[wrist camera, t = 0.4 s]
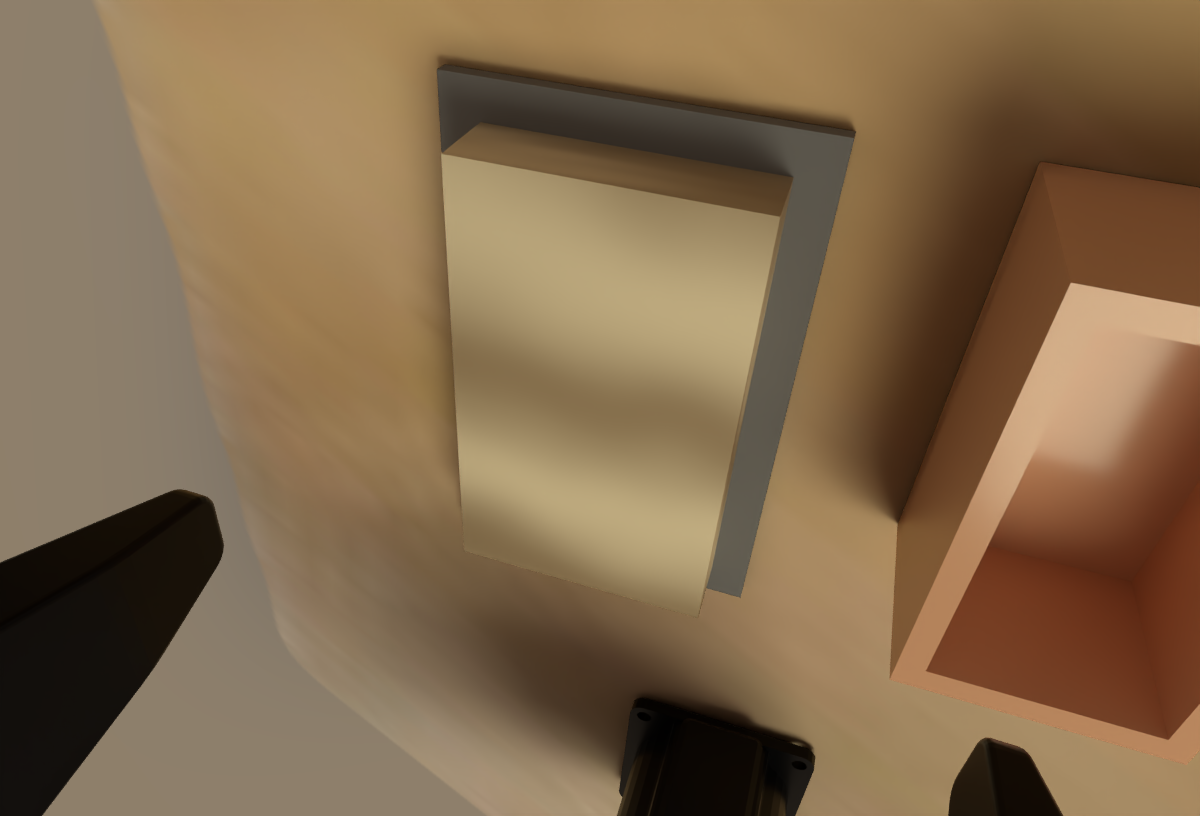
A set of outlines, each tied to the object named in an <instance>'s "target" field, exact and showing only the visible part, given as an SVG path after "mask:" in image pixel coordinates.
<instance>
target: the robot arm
mask: <svg viewBox="0 0 1200 816" xmlns="http://www.w3.org/2000/svg"><path fill="white" fill-rule="evenodd" d="M223 548H224V543H223V538H222V534H221V531H220V527H219V523H218V519H217V515H216V511H215V507H214V504H213V502H212V501H211V500H210V499H209V498H208V497H206V496H203V495H200V494H197V493H194V492H190V491H187V490H181V489H179V490H173V491H170V492H168V493H165V494H163V495H160V496H158V497H155V498H153V499H151V500H148V501H146V502H143V503H141V504H139V505H136V506H134V507H132V508H129V509H127V510H124V511H122V512H120V513H117V514H115V515H112V516H110V517H108V518H105V519H103V520H101V521H98V522H96V523H93V524H91V525H89V526H86V527H84V528H81V529H79V530H77V531H74V532H72V533H69V534H67V535H65V536H62V537H60V538H58V539H55V540H53V541H51V542H48V543H46V544H43V545H41V546H38V547H36V548H34V549H31V550H29V551H26V552H24V553H22V554H19V555H17V556H15V557H12V558H10V559H7V560H5V561H3V562H1V563H0V816H42V815H43V814H44V813H45V811H46V810H47V809H48V807H49V806H50V805H51V803H52V802H53V801H54V799H55V798H56V797H57V795H58V794H59V793H60V792H61V790H62V789H63V788H64V786H65V785H66V784H67V782H68V781H69V780H70V778H71V777H72V776H73V774H74V773H75V772H76V771H77V769H78V768H79V767H80V765H81V764H82V763H83V761H84V760H85V759H86V757H87V756H88V755H89V754H90V752H91V751H92V750H93V748H94V747H95V746H96V744H97V742H99V740H100V739H101V738H102V736H103V735H104V734H105V732H106V731H107V730H108V729H109V727H110V726H111V725H112V723H113V722H114V721H115V719H116V718H117V717H118V715H119V714H120V713H121V712H122V710H123V709H124V708H125V706H126V705H127V704H128V702H129V701H130V700H131V698H132V697H133V696H134V694H135V693H136V692H137V691H138V689H139V688H140V687H141V685H142V684H143V682H144V681H145V679H146V678H147V677H148V676H149V674H150V673H151V671H152V670H153V668H154V667H155V666H156V664H157V663H158V661H159V659H160V658H161V657H162V655H163V653H164V652H165V650H166V648H167V647H168V645H169V644H170V642H171V641H172V639H173V637H174V636H175V634H176V632H177V631H178V629H179V628H180V626H181V624H182V623H183V621H184V620H185V618H186V616H187V615H188V613H189V611H190V610H191V608H192V607H193V605H194V603H195V602H196V600H197V598H198V597H199V595H200V594H201V592H202V590H203V589H204V587H205V585H206V584H207V582H208V581H209V579H210V577H211V576H212V574H213V572H214V571H215V569H216V567H217V566H218V564H219V562H220V560H221V557H222V554H223ZM814 765H815V755H814V754H813V752H811V751H810V750H809V749H806V748H804V747H801V746H798V745H795V744H792V743H788V742H785V741H782V740H779V739H775V738H772V737H769V736H766V735H762V734H759V733H756V732H753V731H749V730H746V729H743V728H740V727H737V726H733V725H730V724H727V723H724V722H720V721H717V720H714V719H711V718H707V717H704V716H701V715H698V714H695V713H691V712H688V711H685V710H682V709H678V708H675V707H672V706H669V705H665V704H662V703H659V702H656V701H653V700H649V699H645V698H639V699H636V700H635V701H634V703H633V706H632V709H631V712H630V719H629V726H628V733H627V740H626V747H625V754H624V761H623V768H622V775H621V781H620V788H619V793H620V795H621V796H622V801H621V804H620V807H619V811H618V814H617V816H795V815H796V812H797V810H798V807H799V805H800V803H801V800H802V798H803V795H804V793H805V790H806V788H807V785H808V783H809V781H810V778H811V776H812V773H813V771H814ZM948 816H1063V814H1062V813H1061V811H1060V809H1059V807H1058V805H1057V804H1056V802H1055V800H1054V798H1053V796H1052V794H1051V793H1050V791H1049V789H1048V787H1047V785H1046V783H1045V782H1044V780H1043V778H1042V776H1041V774H1040V772H1039V771H1038V769H1037V767H1036V765H1035V763H1034V762H1033V760H1032V758H1031V756H1030V755H1029V754H1028V753H1027V752H1026V751H1025V750H1024V749H1022V748H1020V747H1018V746H1015V745H1011V744H1008V743H1005V742H1002V741H998V740H995V739H992V738H983V739H982V740H980V741H979V742H978V743H977V745H976V746H975V748H974V750H973V751H972V753H971V755H970V756H969V758H968V759H967V761H966V763H965V764H964V766H963V767H962V769H961V771H960V772H959V774H958V776H957V777H956V779H955V781H954V784H953V787H952V791H951V796H950V803H949V814H948Z"/></svg>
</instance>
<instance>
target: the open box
mask: <svg viewBox="0 0 1200 816" xmlns="http://www.w3.org/2000/svg"><path fill="white" fill-rule="evenodd" d="M890 680H893V681H897V682H900V683H904V684H907V685H911V686H914V687H918V688H921V689H925V690H928V691H931V692H935V693H938V694H942V695H945V696H949V697H952V698H956V699H959V700H963V701H966V702H970V703H973V704H977V705H980V706H984V707H987V708H991V709H994V710H997V711H1001V712H1004V713H1008V714H1011V715H1015V716H1018V717H1022V718H1025V719H1029V720H1032V721H1036V722H1039V723H1043V724H1046V725H1050V726H1053V727H1057V728H1060V729H1063V730H1067V731H1070V732H1074V733H1077V734H1081V735H1084V736H1088V737H1091V738H1095V739H1098V740H1102V741H1105V742H1109V743H1112V744H1116V745H1119V746H1123V747H1126V748H1129V749H1133V750H1136V751H1140V752H1143V753H1147V754H1150V755H1154V756H1157V757H1161V758H1164V759H1168V760H1171V761H1175V762H1178V763H1182V764H1185V765H1187V764H1188V763H1189V761H1190V760H1191V759H1192V758H1193V757H1194V756H1195V755H1196V754H1197V753H1198V752H1199V751H1200V188H1199V187H1193V186H1187V185H1181V184H1175V183H1169V182H1162V181H1156V180H1150V179H1144V178H1138V177H1132V176H1126V175H1120V174H1113V173H1107V172H1101V171H1095V170H1089V169H1083V168H1077V167H1071V166H1064V165H1058V164H1052V163H1046V162H1040V163H1039V166H1038V168H1037V171H1036V173H1035V176H1034V178H1033V181H1032V183H1031V186H1030V189H1029V191H1028V194H1027V196H1026V199H1025V201H1024V204H1023V206H1022V209H1021V211H1020V214H1019V217H1018V219H1017V222H1016V224H1015V227H1014V229H1013V232H1012V234H1011V237H1010V240H1009V242H1008V245H1007V247H1006V250H1005V252H1004V255H1003V257H1002V260H1001V262H1000V265H999V268H998V270H997V273H996V275H995V278H994V280H993V283H992V285H991V288H990V291H989V293H988V296H987V298H986V301H985V303H984V306H983V308H982V311H981V313H980V316H979V319H978V321H977V324H976V326H975V329H974V331H973V334H972V336H971V339H970V342H969V344H968V347H967V349H966V352H965V354H964V357H963V359H962V362H961V364H960V367H959V370H958V372H957V375H956V377H955V380H954V382H953V385H952V387H951V390H950V393H949V395H948V398H947V400H946V403H945V405H944V408H943V410H942V413H941V415H940V418H939V421H938V423H937V426H936V428H935V431H934V433H933V436H932V438H931V441H930V444H929V446H928V449H927V451H926V454H925V456H924V459H923V461H922V464H921V466H920V469H919V472H918V474H917V477H916V479H915V482H914V484H913V487H912V489H911V492H910V495H909V497H908V500H907V502H906V505H905V507H904V510H903V512H902V515H901V518H900V520H899V523H898V527H897V546H896V566H895V585H894V604H893V623H892V643H891V662H890Z"/></svg>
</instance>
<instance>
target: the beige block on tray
mask: <svg viewBox="0 0 1200 816" xmlns="http://www.w3.org/2000/svg"><path fill="white" fill-rule="evenodd" d="M441 162H442V179H443V197H444V214H445V231H446V248H447V266H448V283H449V300H450V318H451V335H452V352H453V370H454V387H455V404H456V422H457V439H458V456H459V473H460V491H461V508H462V525H463V543H464V551H465V552H468V553H472V554H475V555H479V556H482V557H486V558H489V559H493V560H496V561H500V562H503V563H507V564H510V565H514V566H517V567H521V568H524V569H528V570H531V571H535V572H538V573H542V574H545V575H549V576H552V577H556V578H559V579H563V580H566V581H570V582H573V583H577V584H580V585H584V586H587V587H591V588H594V589H597V590H601V591H604V592H608V593H611V594H615V595H618V596H622V597H625V598H629V599H632V600H636V601H639V602H643V603H646V604H650V605H653V606H657V607H660V608H664V609H667V610H671V611H674V612H678V613H681V614H685V615H688V616H692V617H695V618H698V616H699V612H700V609H701V605H702V601H703V598H704V594H705V591H706V587H707V583H708V580H709V576H710V573H711V569H712V565H713V560H714V556H715V551H716V546H717V541H718V537H719V532H720V527H721V522H722V517H723V513H724V508H725V503H726V498H727V494H728V489H729V484H730V479H731V475H732V470H733V465H734V460H735V455H736V451H737V446H738V441H739V436H740V432H741V427H742V422H743V417H744V412H745V408H746V403H747V398H748V393H749V389H750V384H751V379H752V374H753V369H754V365H755V360H756V355H757V350H758V346H759V341H760V336H761V331H762V327H763V322H764V317H765V312H766V307H767V303H768V298H769V293H770V288H771V284H772V279H773V274H774V269H775V264H776V260H777V255H778V250H779V245H780V241H781V236H782V231H783V226H784V221H785V217H786V212H787V207H788V202H789V198H790V193H791V188H792V183H793V178H794V177H788V176H783V175H777V174H771V173H766V172H760V171H754V170H749V169H743V168H737V167H732V166H726V165H720V164H715V163H709V162H703V161H698V160H692V159H686V158H681V157H675V156H669V155H664V154H658V153H652V152H647V151H641V150H635V149H630V148H624V147H618V146H613V145H607V144H601V143H596V142H590V141H584V140H579V139H573V138H567V137H562V136H556V135H550V134H545V133H539V132H533V131H528V130H522V129H516V128H511V127H505V126H499V125H494V124H488V123H482V122H480V123H479V124H478V125H476V126H475V127H474V128H473V129H471V130H470V131H469V132H468V133H466V134H465V135H464V136H463V137H461V138H460V139H459V140H458V141H456V142H455V143H454V144H453V145H451V146H450V147H449V148H448V149H446V150H445V151H444V152H443V153H441Z"/></svg>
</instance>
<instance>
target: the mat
mask: <svg viewBox="0 0 1200 816" xmlns="http://www.w3.org/2000/svg"><path fill="white" fill-rule="evenodd" d="M437 80H438V97H439V115H440V132H441V150H442V153H443V152H444V151H445V150H446V149H448V148H449V147H450V146H451V145H453V144H454V143H455V142H456V141H458V140H459V139H460V138H461V137H463V136H464V135H465V134H466V133H468V132H469V131H470V130H471V129H473V128H474V127H475V126H476V125H478V124H479V123H480V122H482V123H488V124H494V125H499V126H505V127H511V128H516V129H522V130H528V131H533V132H539V133H545V134H550V135H556V136H562V137H567V138H573V139H579V140H584V141H590V142H596V143H601V144H607V145H613V146H618V147H624V148H630V149H635V150H641V151H647V152H652V153H658V154H664V155H669V156H675V157H681V158H686V159H692V160H698V161H703V162H709V163H715V164H720V165H726V166H732V167H737V168H743V169H749V170H754V171H760V172H766V173H771V174H777V175H783V176H788V177H794V178H793V183H792V188H791V193H790V198H789V202H788V207H787V212H786V217H785V221H784V226H783V231H782V236H781V241H780V245H779V250H778V255H777V260H776V264H775V269H774V274H773V279H772V284H771V288H770V293H769V298H768V303H767V307H766V312H765V317H764V322H763V327H762V331H761V336H760V341H759V346H758V350H757V355H756V360H755V365H754V369H753V374H752V379H751V384H750V389H749V393H748V398H747V403H746V408H745V412H744V417H743V422H742V427H741V432H740V436H739V441H738V446H737V451H736V455H735V460H734V465H733V470H732V475H731V479H730V484H729V489H728V494H727V498H726V503H725V508H724V513H723V517H722V522H721V527H720V532H719V537H718V541H717V546H716V551H715V556H714V560H713V565H712V569H711V573H710V576H709V580H708V583H707V587H706V588H708V589H712V590H715V591H719V592H722V593H726V594H729V595H733V596H737V597H741V593H742V589H743V585H744V581H745V577H746V573H747V569H748V565H749V561H750V557H751V553H752V549H753V545H754V541H755V537H756V533H757V529H758V525H759V521H760V517H761V513H762V509H763V505H764V501H765V497H766V492H767V488H768V484H769V480H770V476H771V472H772V468H773V464H774V460H775V456H776V452H777V448H778V444H779V440H780V436H781V432H782V428H783V424H784V420H785V416H786V412H787V408H788V404H789V400H790V396H791V392H792V388H793V384H794V380H795V376H796V372H797V368H798V364H799V360H800V356H801V352H802V347H803V343H804V339H805V335H806V331H807V327H808V323H809V319H810V315H811V311H812V307H813V303H814V299H815V295H816V291H817V287H818V283H819V279H820V275H821V271H822V267H823V263H824V259H825V255H826V251H827V247H828V243H829V239H830V235H831V231H832V227H833V223H834V219H835V215H836V211H837V206H838V202H839V198H840V194H841V190H842V186H843V182H844V178H845V174H846V170H847V166H848V162H849V158H850V154H851V150H852V146H853V142H854V138H855V133H856V131H850V130H844V129H838V128H832V127H826V126H819V125H813V124H807V123H801V122H795V121H789V120H783V119H777V118H770V117H764V116H758V115H752V114H746V113H740V112H734V111H728V110H721V109H715V108H709V107H703V106H697V105H691V104H685V103H679V102H672V101H666V100H660V99H654V98H648V97H642V96H636V95H630V94H623V93H617V92H611V91H605V90H599V89H593V88H587V87H581V86H574V85H568V84H562V83H556V82H550V81H544V80H538V79H532V78H525V77H519V76H513V75H507V74H501V73H495V72H489V71H483V70H476V69H470V68H464V67H458V66H452V65H446V64H445V65H443V66H441V67H440V68H438V69H437Z"/></svg>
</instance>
